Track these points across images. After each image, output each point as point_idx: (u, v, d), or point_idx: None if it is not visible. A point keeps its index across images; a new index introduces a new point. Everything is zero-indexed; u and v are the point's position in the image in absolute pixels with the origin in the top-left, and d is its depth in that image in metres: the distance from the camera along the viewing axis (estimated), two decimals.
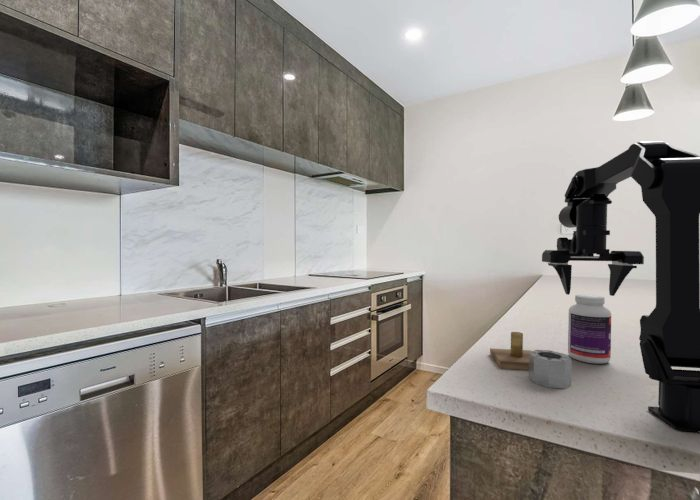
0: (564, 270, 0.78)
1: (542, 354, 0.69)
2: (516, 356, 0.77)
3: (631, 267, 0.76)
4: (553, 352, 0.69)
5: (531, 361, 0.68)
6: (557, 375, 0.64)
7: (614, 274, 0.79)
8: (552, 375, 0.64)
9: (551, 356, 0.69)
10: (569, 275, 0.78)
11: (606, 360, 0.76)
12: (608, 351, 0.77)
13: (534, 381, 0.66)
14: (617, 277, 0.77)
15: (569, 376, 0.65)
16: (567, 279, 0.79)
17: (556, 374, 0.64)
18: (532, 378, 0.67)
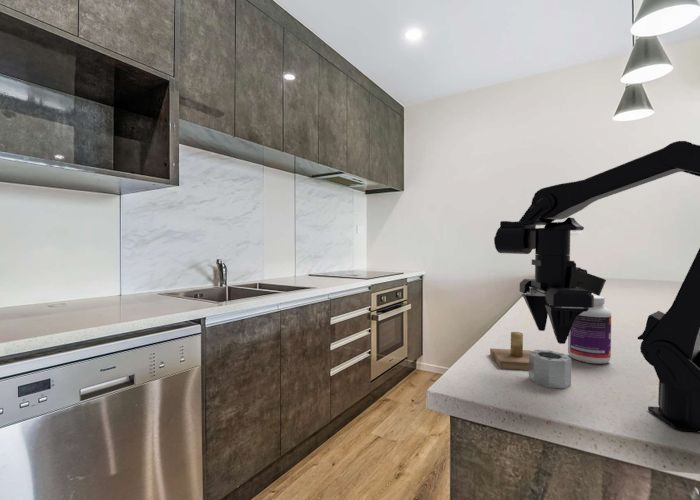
0: (525, 301, 0.74)
1: (542, 354, 0.69)
2: (516, 356, 0.77)
3: (549, 308, 0.61)
4: (553, 352, 0.69)
5: (531, 361, 0.68)
6: (557, 375, 0.64)
7: None
8: (552, 375, 0.64)
9: (551, 356, 0.69)
10: (529, 307, 0.72)
11: (606, 360, 0.76)
12: (608, 351, 0.77)
13: (534, 381, 0.66)
14: None
15: (569, 376, 0.65)
16: (530, 311, 0.73)
17: (556, 374, 0.64)
18: (532, 378, 0.67)
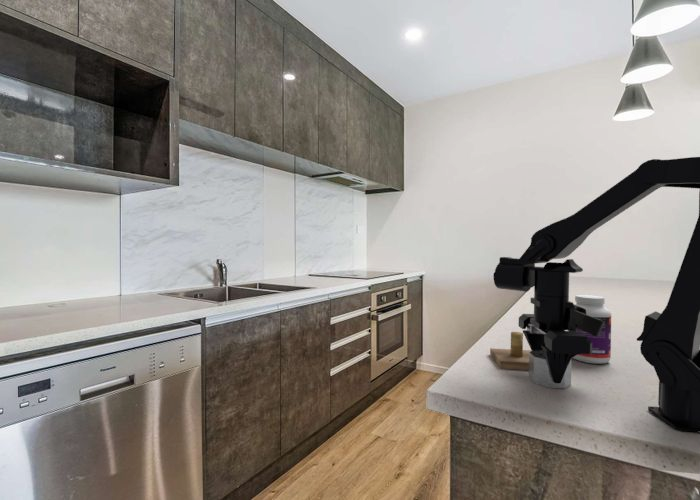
0: (526, 338, 0.73)
1: (542, 354, 0.69)
2: (516, 356, 0.77)
3: (545, 349, 0.62)
4: None
5: (531, 361, 0.68)
6: None
7: None
8: None
9: None
10: (530, 345, 0.72)
11: (606, 360, 0.76)
12: (608, 351, 0.77)
13: (534, 381, 0.66)
14: None
15: (569, 376, 0.65)
16: (531, 349, 0.72)
17: None
18: (532, 378, 0.67)
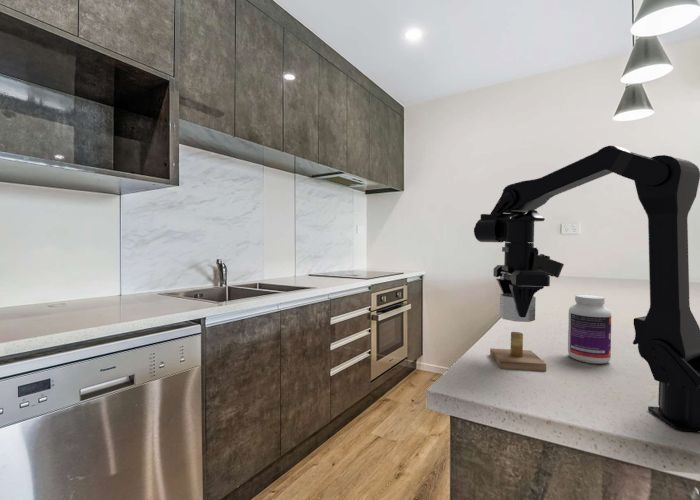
0: (499, 284, 0.83)
1: (511, 296, 0.79)
2: (516, 356, 0.77)
3: (511, 286, 0.72)
4: None
5: (501, 301, 0.78)
6: None
7: None
8: None
9: None
10: (502, 289, 0.81)
11: (606, 360, 0.76)
12: (608, 351, 0.77)
13: (503, 317, 0.76)
14: None
15: (533, 312, 0.75)
16: None
17: None
18: (502, 315, 0.77)
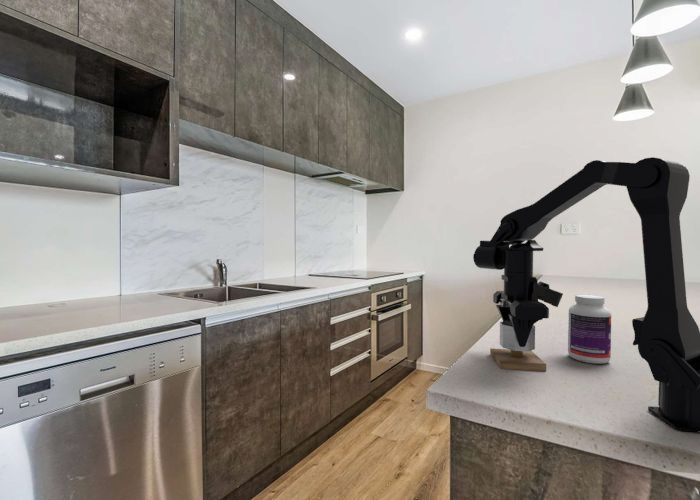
0: None
1: (511, 324, 0.79)
2: (516, 356, 0.77)
3: (511, 317, 0.72)
4: None
5: (501, 329, 0.78)
6: None
7: None
8: None
9: None
10: (502, 316, 0.82)
11: (606, 360, 0.76)
12: (608, 351, 0.77)
13: (503, 346, 0.77)
14: None
15: (533, 341, 0.75)
16: None
17: None
18: (501, 344, 0.78)
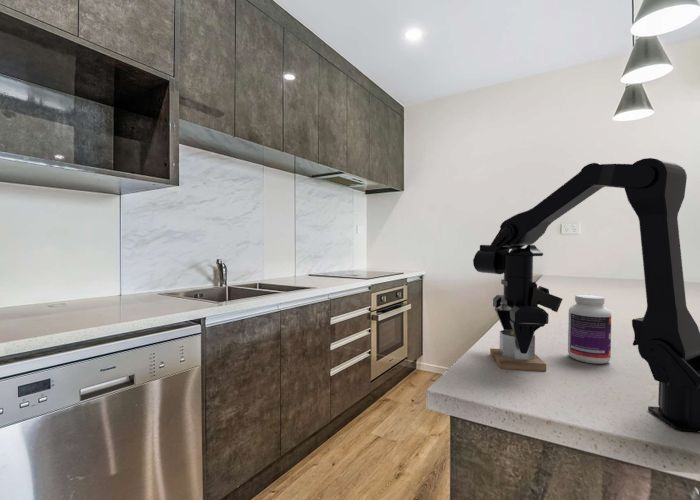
0: (497, 314, 0.84)
1: None
2: None
3: (512, 323, 0.71)
4: None
5: (501, 338, 0.78)
6: None
7: None
8: (518, 349, 0.74)
9: None
10: (500, 320, 0.83)
11: (606, 360, 0.76)
12: (608, 351, 0.77)
13: (503, 355, 0.77)
14: None
15: (533, 351, 0.75)
16: (501, 324, 0.83)
17: None
18: (501, 353, 0.78)
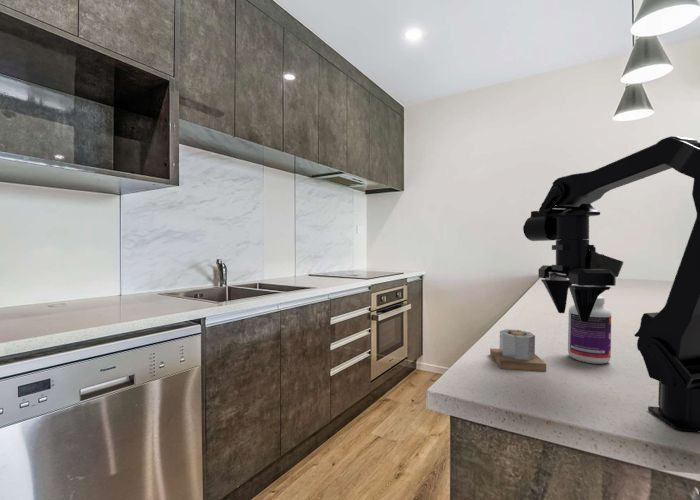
0: (545, 285, 0.78)
1: None
2: None
3: (573, 287, 0.65)
4: (520, 331, 0.79)
5: (501, 338, 0.78)
6: (522, 349, 0.74)
7: None
8: (518, 349, 0.74)
9: None
10: (549, 291, 0.76)
11: (606, 360, 0.76)
12: (608, 351, 0.77)
13: (503, 355, 0.77)
14: None
15: (533, 351, 0.75)
16: (550, 295, 0.77)
17: (521, 348, 0.74)
18: (501, 353, 0.78)
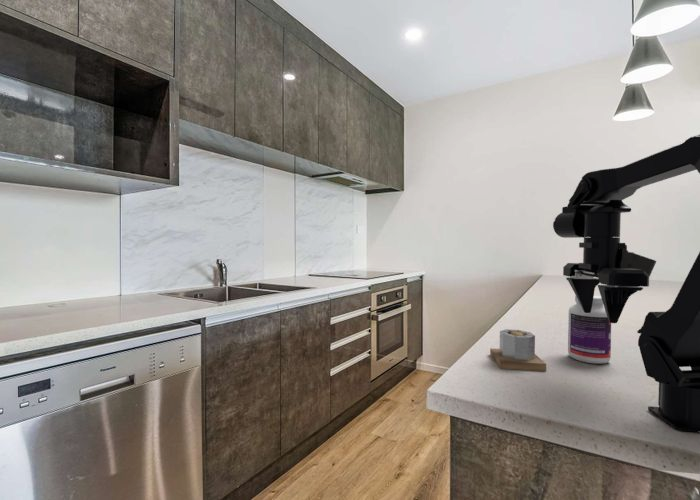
0: (570, 284, 0.75)
1: None
2: None
3: (602, 288, 0.62)
4: (520, 331, 0.79)
5: (501, 338, 0.78)
6: (522, 349, 0.74)
7: None
8: (518, 349, 0.74)
9: None
10: (574, 289, 0.74)
11: (606, 360, 0.76)
12: (608, 351, 0.77)
13: (503, 355, 0.77)
14: None
15: (533, 351, 0.75)
16: (576, 294, 0.74)
17: (521, 348, 0.74)
18: (501, 353, 0.78)
